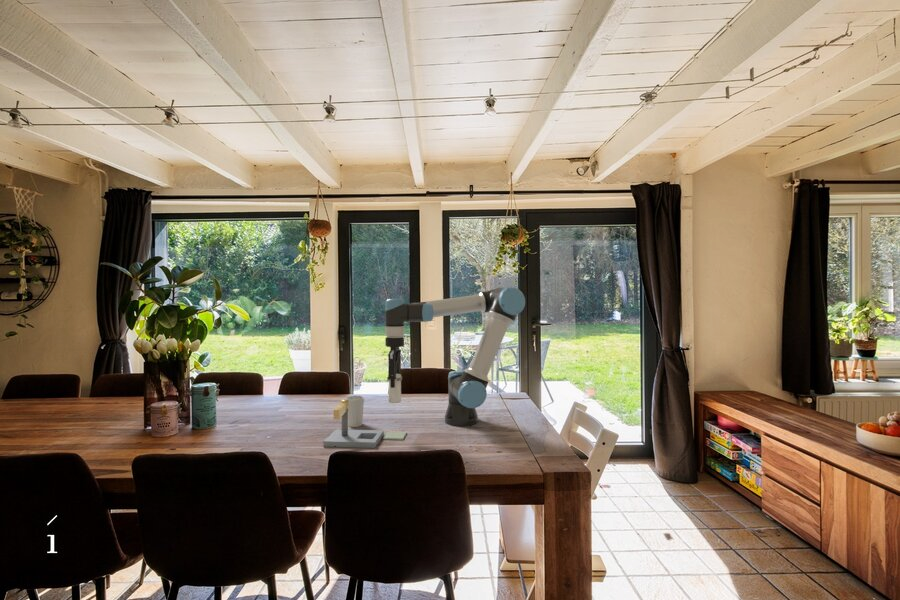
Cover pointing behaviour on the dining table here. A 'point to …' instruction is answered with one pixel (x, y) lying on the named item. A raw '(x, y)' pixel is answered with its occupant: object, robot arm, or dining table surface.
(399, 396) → the cream banded cylinder
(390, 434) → the mat
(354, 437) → the socket board
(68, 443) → the dining table surface
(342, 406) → the clip
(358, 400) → the cup
